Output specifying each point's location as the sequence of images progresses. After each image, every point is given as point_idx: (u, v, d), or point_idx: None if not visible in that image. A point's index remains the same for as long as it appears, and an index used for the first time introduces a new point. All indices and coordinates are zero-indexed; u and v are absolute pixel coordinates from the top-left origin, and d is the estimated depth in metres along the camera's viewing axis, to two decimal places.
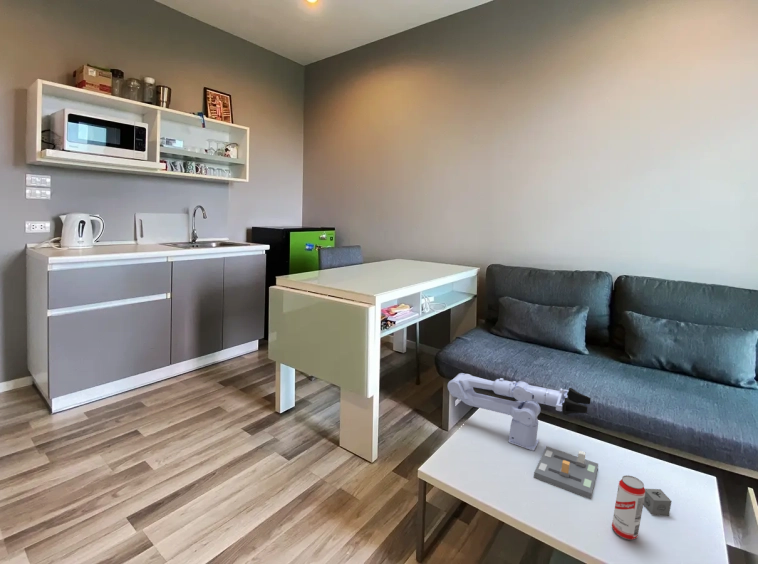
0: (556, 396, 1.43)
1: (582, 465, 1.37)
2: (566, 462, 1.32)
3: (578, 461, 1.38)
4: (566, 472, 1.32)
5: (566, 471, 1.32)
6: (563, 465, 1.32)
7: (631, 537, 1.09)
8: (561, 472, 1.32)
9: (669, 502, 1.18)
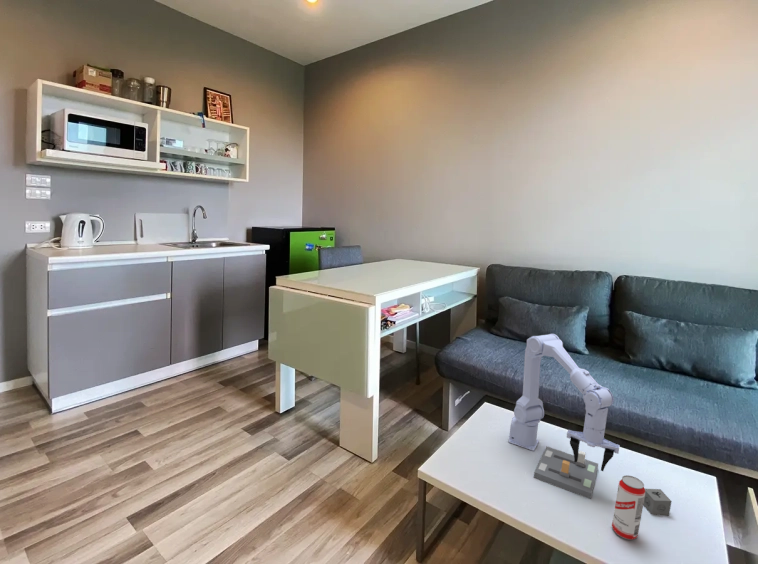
0: (584, 436, 1.26)
1: (582, 465, 1.37)
2: (566, 462, 1.32)
3: (578, 461, 1.38)
4: (566, 472, 1.32)
5: (566, 471, 1.32)
6: (563, 465, 1.32)
7: (631, 537, 1.09)
8: (561, 472, 1.32)
9: (669, 502, 1.18)
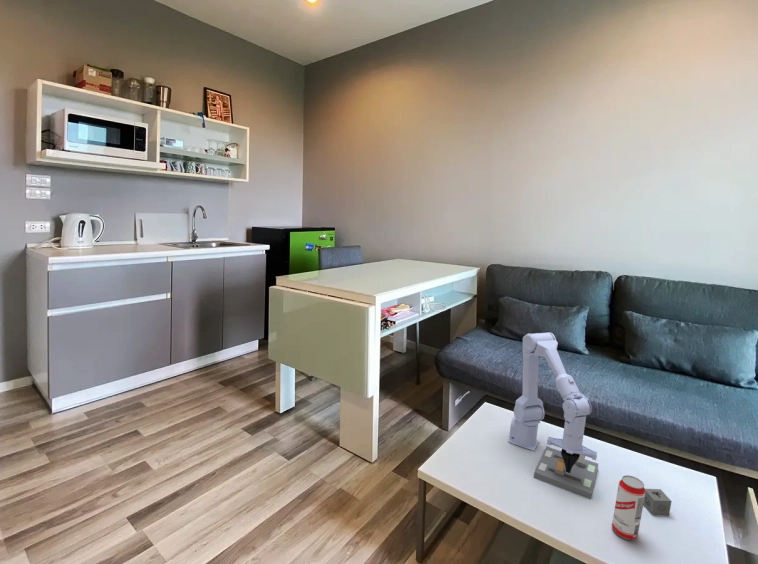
0: (563, 443, 1.30)
1: (582, 465, 1.37)
2: (561, 461, 1.33)
3: (578, 461, 1.38)
4: (561, 470, 1.32)
5: (561, 469, 1.32)
6: (558, 463, 1.33)
7: (631, 537, 1.09)
8: (556, 470, 1.33)
9: (669, 502, 1.18)
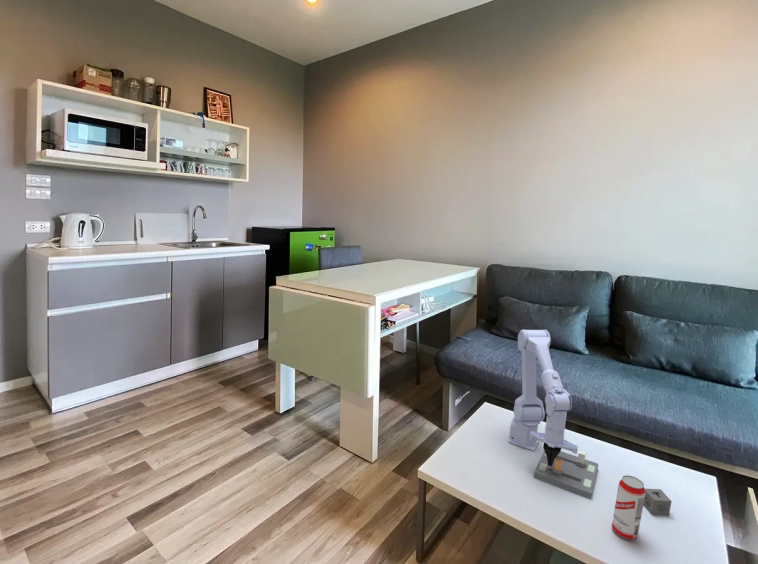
0: (545, 437, 1.33)
1: (582, 465, 1.37)
2: (559, 460, 1.33)
3: (578, 461, 1.38)
4: (559, 469, 1.33)
5: (559, 468, 1.33)
6: (556, 463, 1.33)
7: (631, 537, 1.09)
8: (554, 469, 1.34)
9: (669, 502, 1.18)
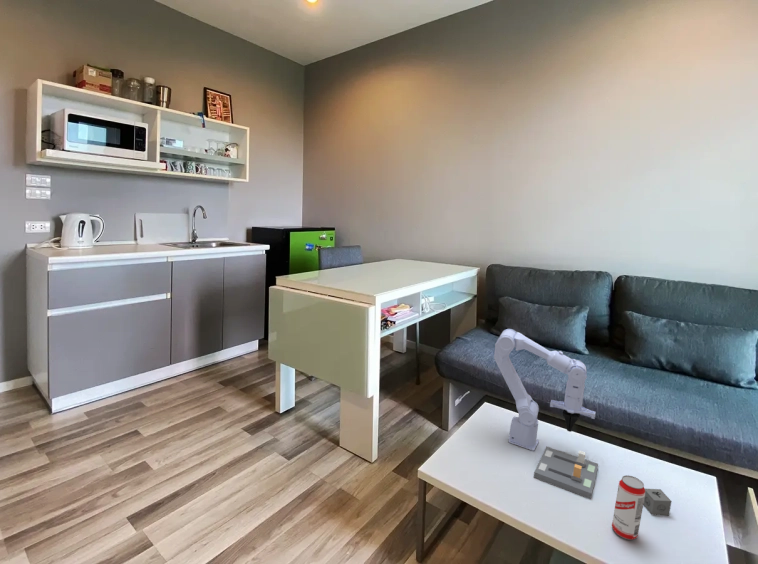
0: (565, 404, 1.44)
1: (582, 465, 1.37)
2: (578, 466, 1.30)
3: (578, 461, 1.38)
4: (578, 476, 1.30)
5: (578, 475, 1.30)
6: (575, 469, 1.30)
7: (631, 537, 1.09)
8: (573, 476, 1.30)
9: (669, 502, 1.18)
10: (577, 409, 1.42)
